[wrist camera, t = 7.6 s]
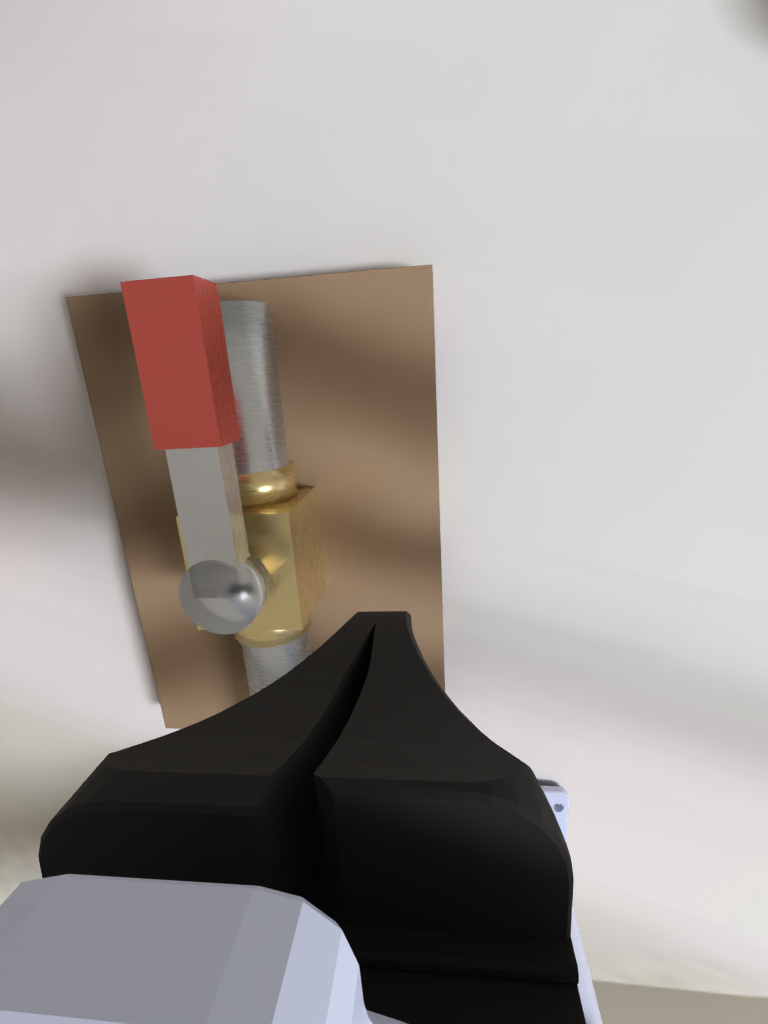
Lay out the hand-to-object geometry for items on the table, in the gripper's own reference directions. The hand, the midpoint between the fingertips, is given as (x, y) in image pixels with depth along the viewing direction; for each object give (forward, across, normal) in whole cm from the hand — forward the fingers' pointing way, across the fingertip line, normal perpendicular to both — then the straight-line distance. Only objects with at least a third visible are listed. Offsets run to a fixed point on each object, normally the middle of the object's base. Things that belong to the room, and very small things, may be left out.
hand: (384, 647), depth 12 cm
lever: (+4, +6, -4) cm, 8 cm away
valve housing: (+8, +6, 0) cm, 10 cm away
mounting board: (+10, +6, 0) cm, 11 cm away
